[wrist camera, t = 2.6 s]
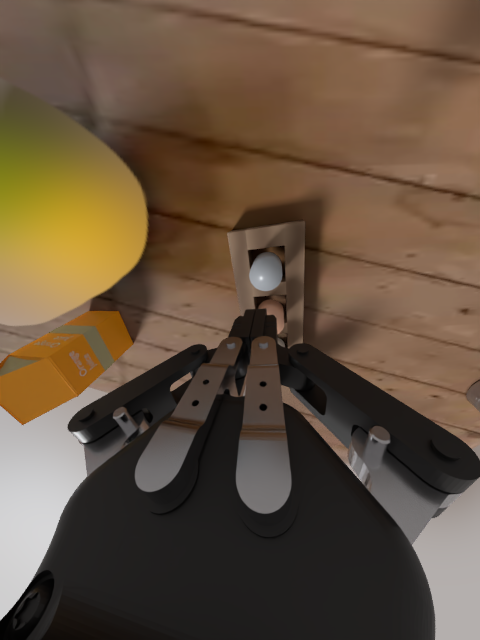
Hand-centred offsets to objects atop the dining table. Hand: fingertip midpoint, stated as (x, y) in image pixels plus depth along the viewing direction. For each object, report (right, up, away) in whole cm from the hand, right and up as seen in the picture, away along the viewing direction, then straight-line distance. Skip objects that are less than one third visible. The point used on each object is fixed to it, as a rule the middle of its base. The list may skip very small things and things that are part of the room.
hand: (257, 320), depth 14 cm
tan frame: (+4, +3, +19) cm, 19 cm away
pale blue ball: (+3, +7, +12) cm, 15 cm away
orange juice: (-30, -2, +29) cm, 42 cm away
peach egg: (+4, +1, +16) cm, 16 cm away
